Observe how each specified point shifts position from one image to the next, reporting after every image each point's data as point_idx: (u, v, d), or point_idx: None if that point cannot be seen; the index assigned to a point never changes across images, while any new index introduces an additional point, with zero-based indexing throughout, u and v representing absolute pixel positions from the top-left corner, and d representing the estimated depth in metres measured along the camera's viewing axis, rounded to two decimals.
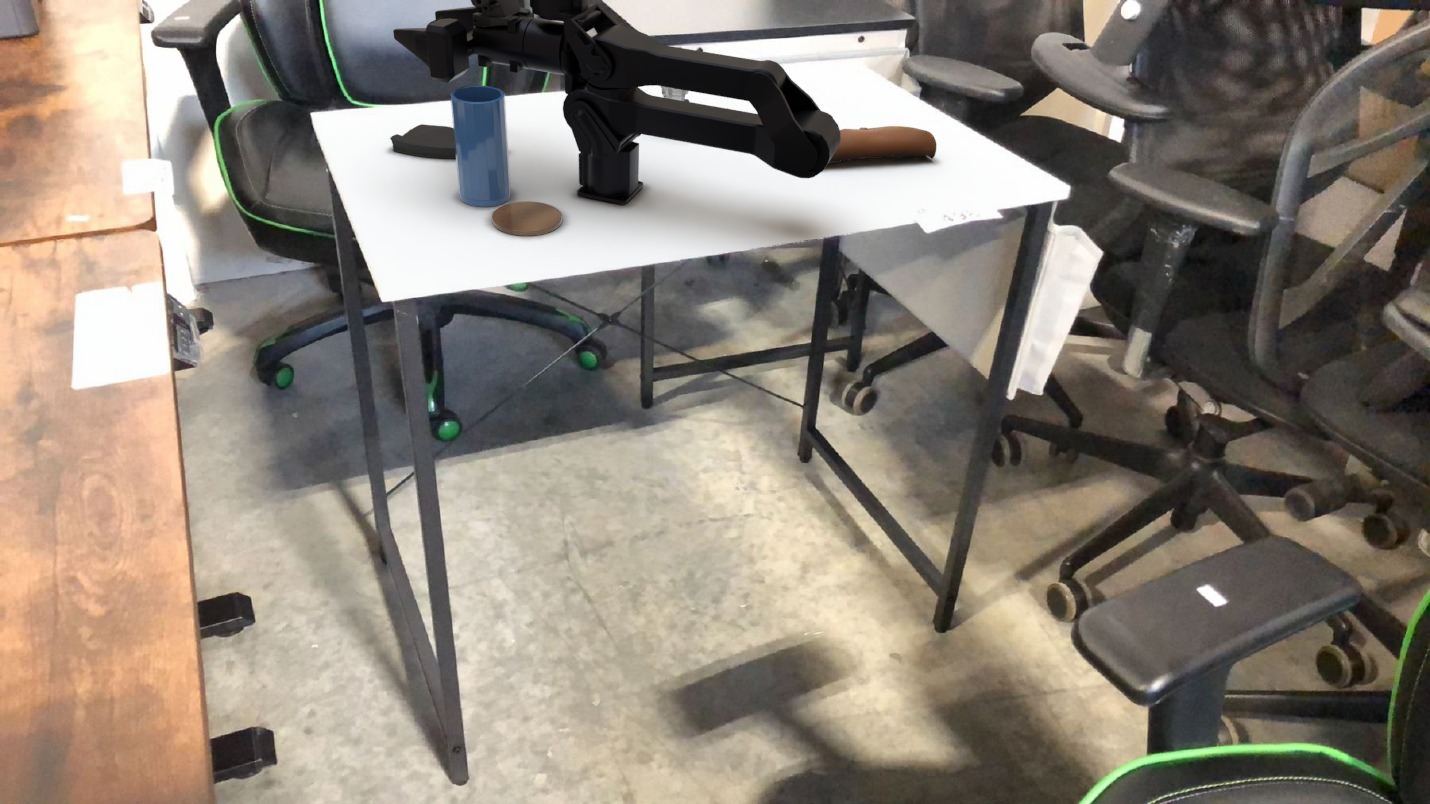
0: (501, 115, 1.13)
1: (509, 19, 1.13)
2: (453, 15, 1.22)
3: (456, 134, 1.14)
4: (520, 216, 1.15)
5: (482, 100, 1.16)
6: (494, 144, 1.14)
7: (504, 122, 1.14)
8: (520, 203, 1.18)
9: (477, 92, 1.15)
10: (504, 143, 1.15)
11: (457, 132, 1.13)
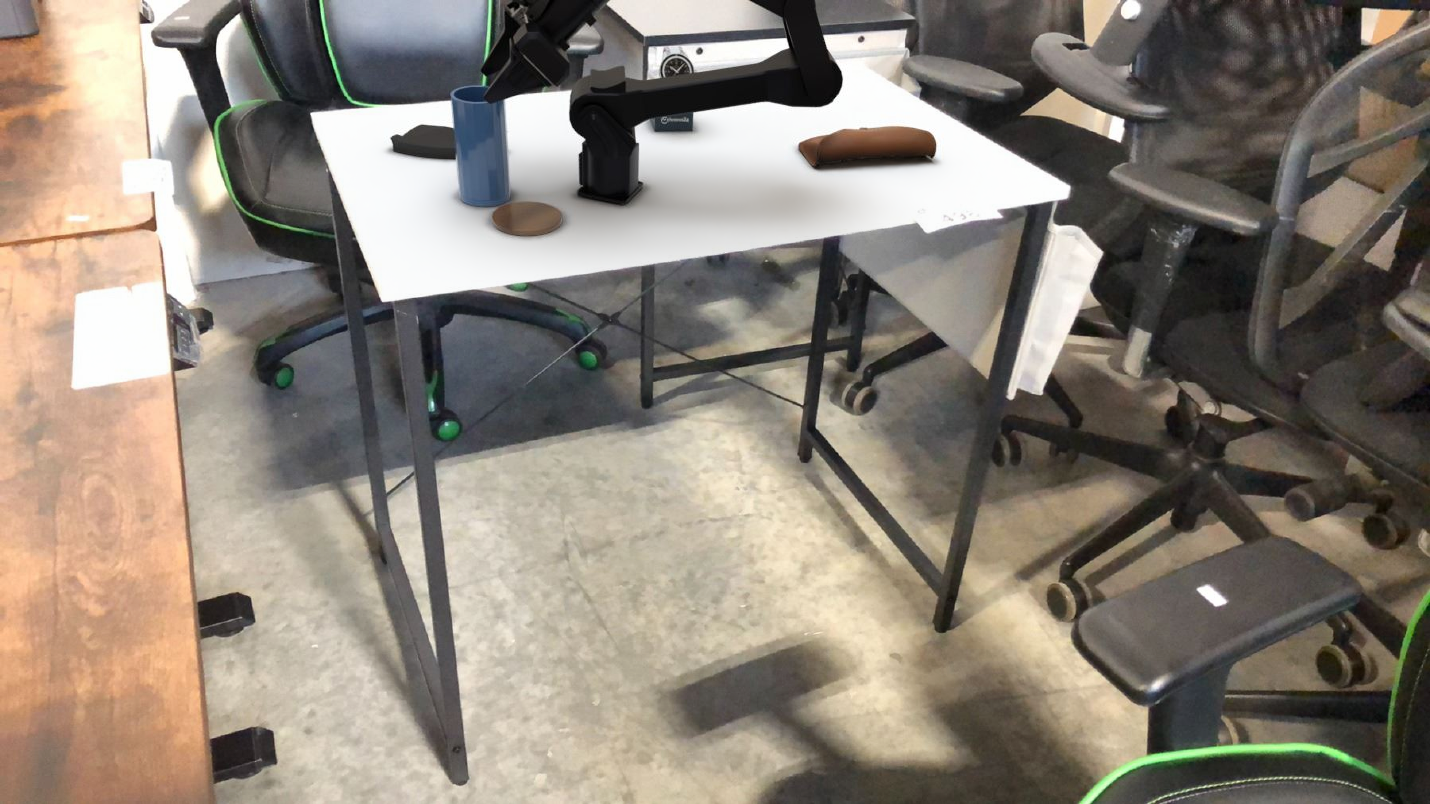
0: (501, 115, 1.13)
1: None
2: (495, 56, 1.16)
3: (456, 134, 1.14)
4: (520, 216, 1.15)
5: (482, 100, 1.16)
6: (494, 144, 1.14)
7: (504, 122, 1.14)
8: (520, 203, 1.18)
9: (477, 92, 1.15)
10: (504, 143, 1.15)
11: (457, 132, 1.13)
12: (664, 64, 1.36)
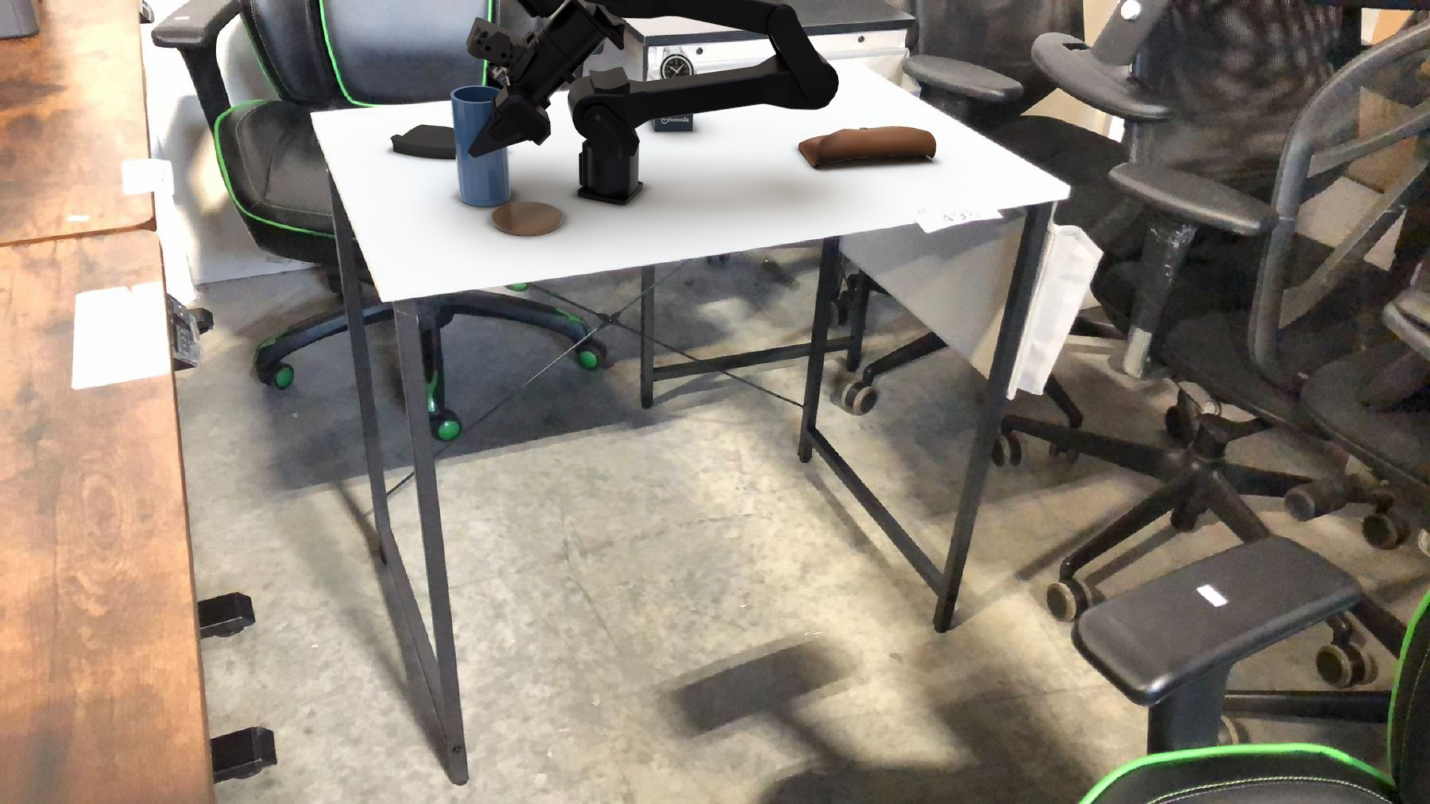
0: None
1: (532, 45, 1.09)
2: None
3: (456, 134, 1.14)
4: (520, 216, 1.15)
5: (482, 100, 1.16)
6: None
7: None
8: (520, 203, 1.18)
9: (477, 92, 1.15)
10: None
11: (457, 132, 1.13)
12: (664, 64, 1.36)
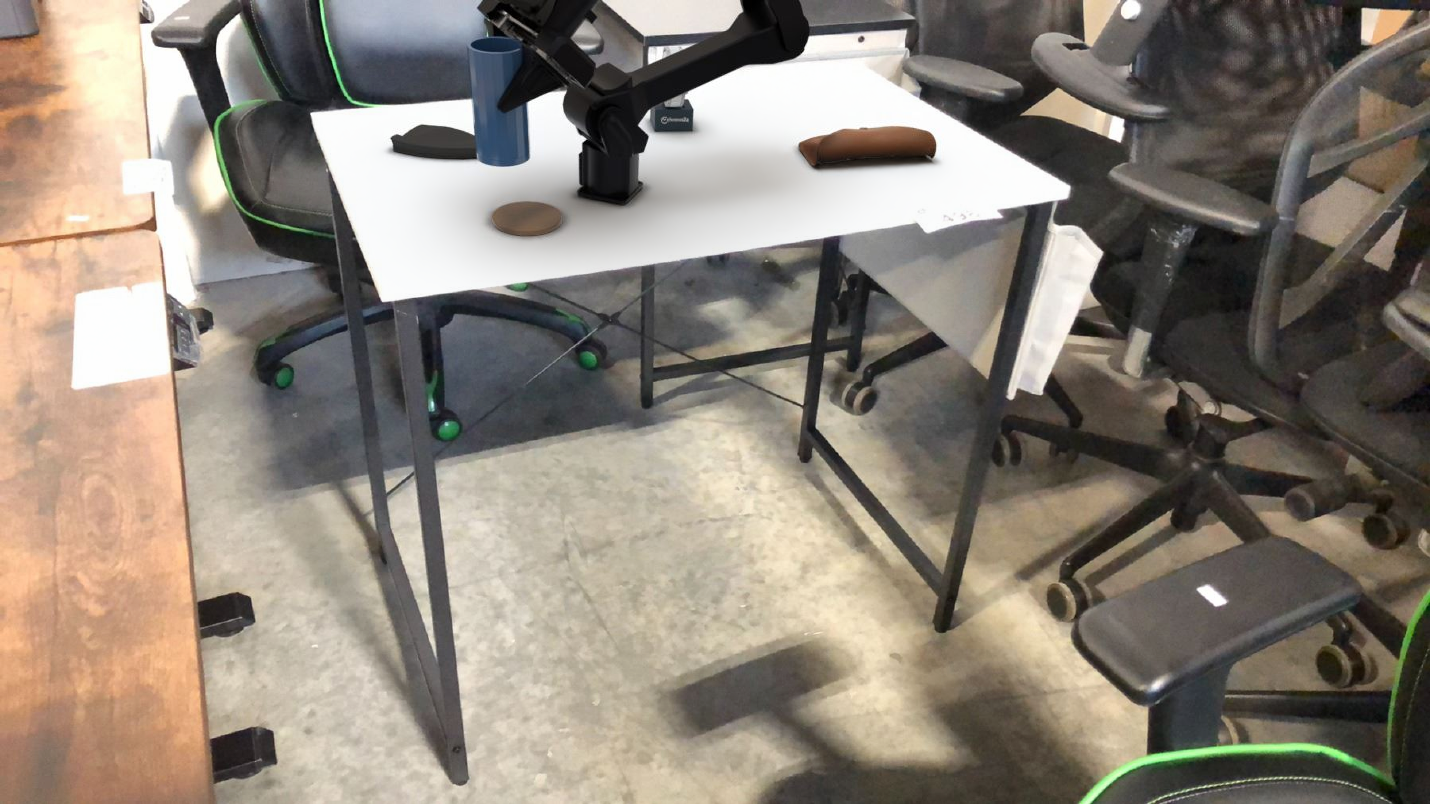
0: None
1: None
2: None
3: (479, 90, 1.06)
4: (520, 216, 1.15)
5: None
6: None
7: None
8: (520, 203, 1.18)
9: (487, 44, 1.08)
10: None
11: (481, 88, 1.06)
12: None
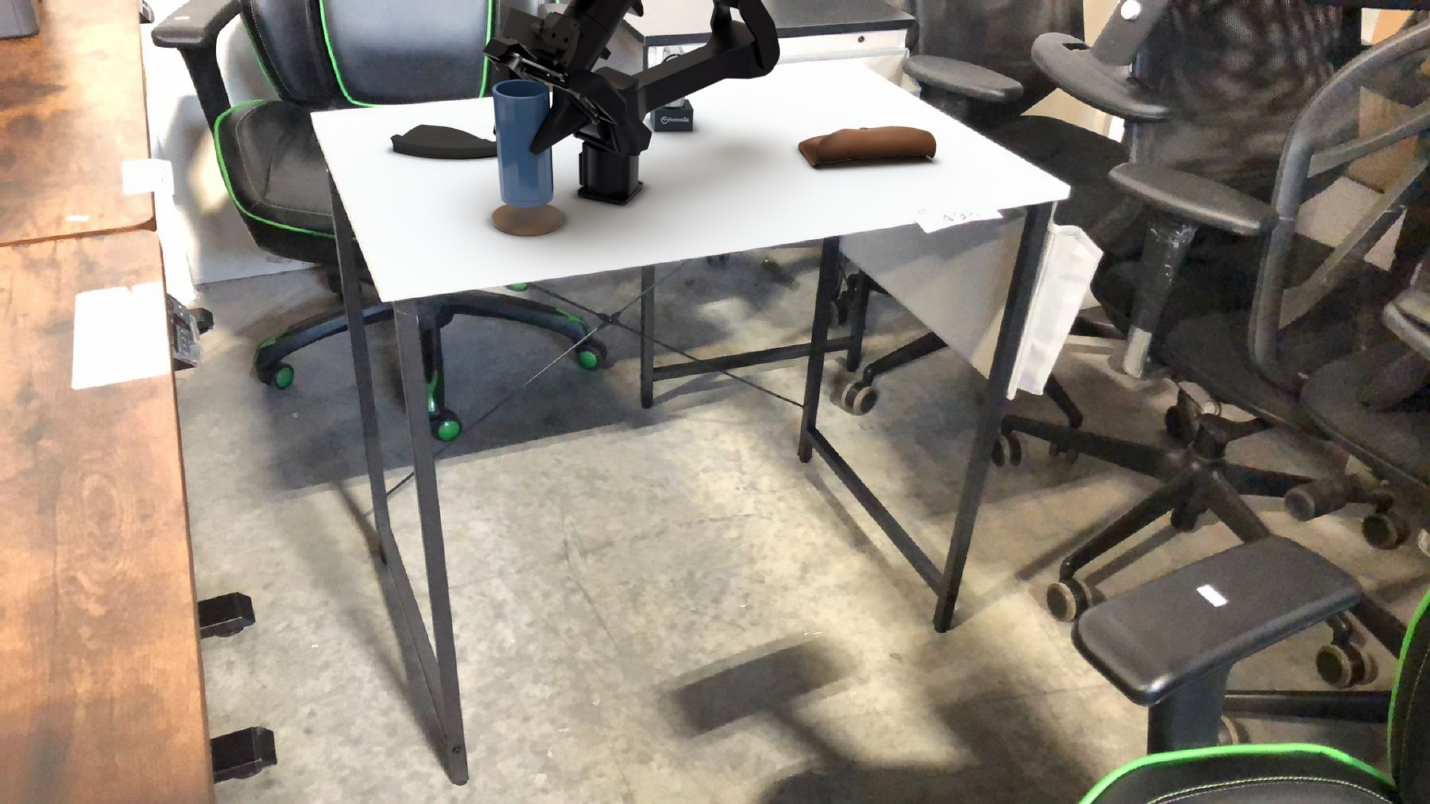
0: None
1: (578, 25, 1.05)
2: None
3: (509, 135, 1.07)
4: (520, 216, 1.15)
5: (511, 96, 1.09)
6: None
7: None
8: None
9: (506, 88, 1.08)
10: None
11: (512, 133, 1.06)
12: None
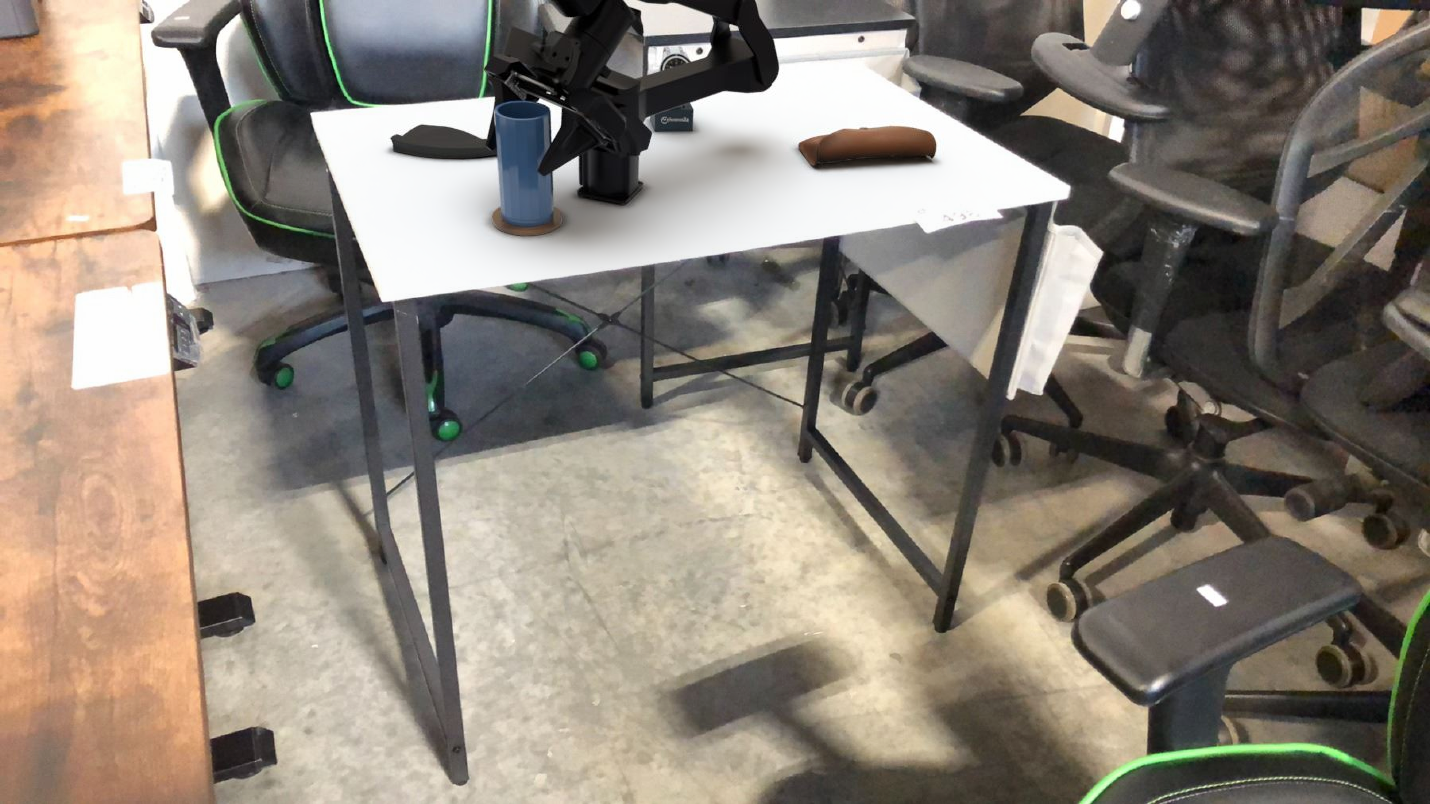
0: None
1: (578, 44, 1.07)
2: None
3: (511, 156, 1.08)
4: None
5: (512, 117, 1.10)
6: None
7: None
8: None
9: (508, 109, 1.10)
10: None
11: (513, 154, 1.08)
12: (664, 64, 1.36)
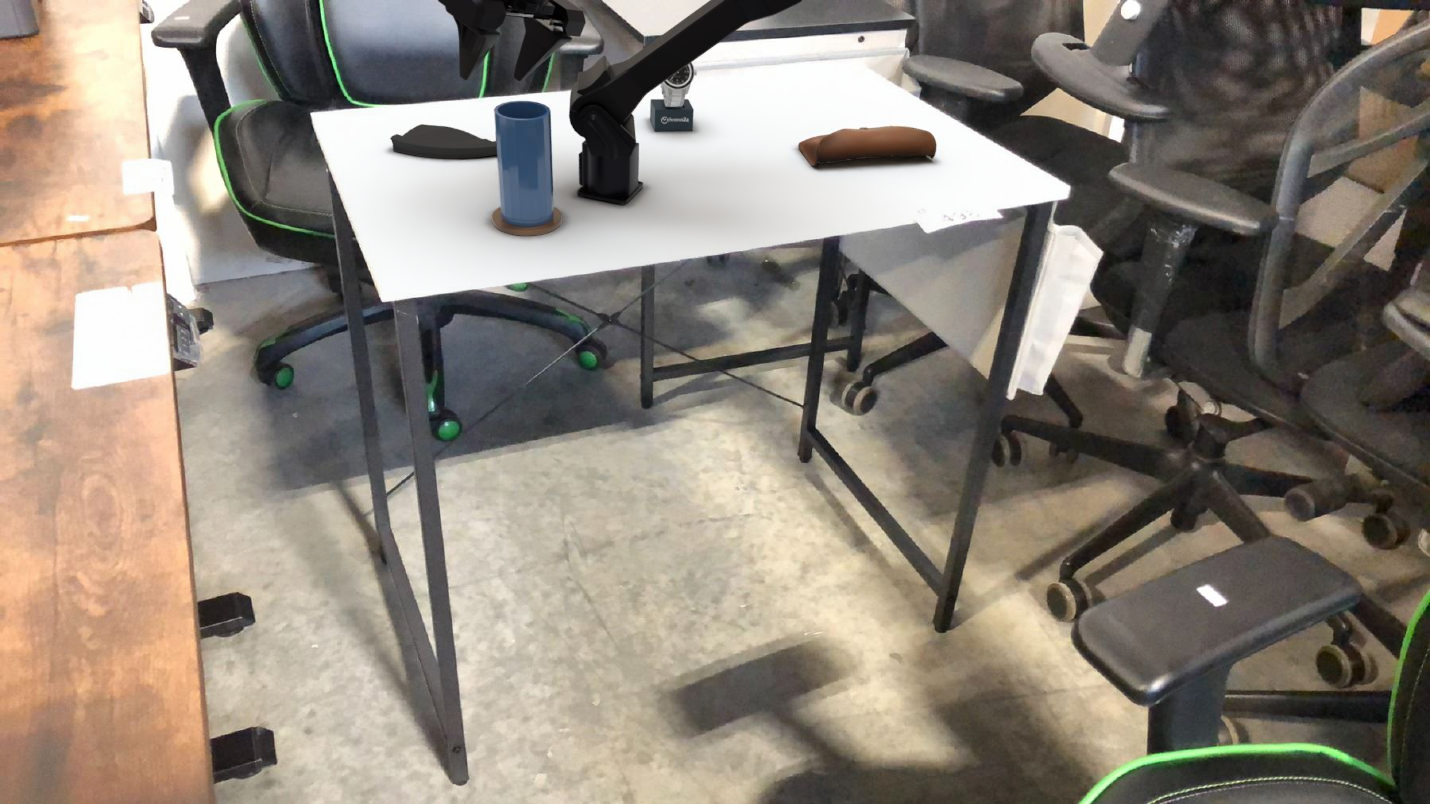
0: None
1: None
2: (522, 58, 1.17)
3: (511, 156, 1.08)
4: None
5: (512, 117, 1.10)
6: (549, 158, 1.10)
7: None
8: None
9: (508, 109, 1.10)
10: None
11: (513, 154, 1.08)
12: None
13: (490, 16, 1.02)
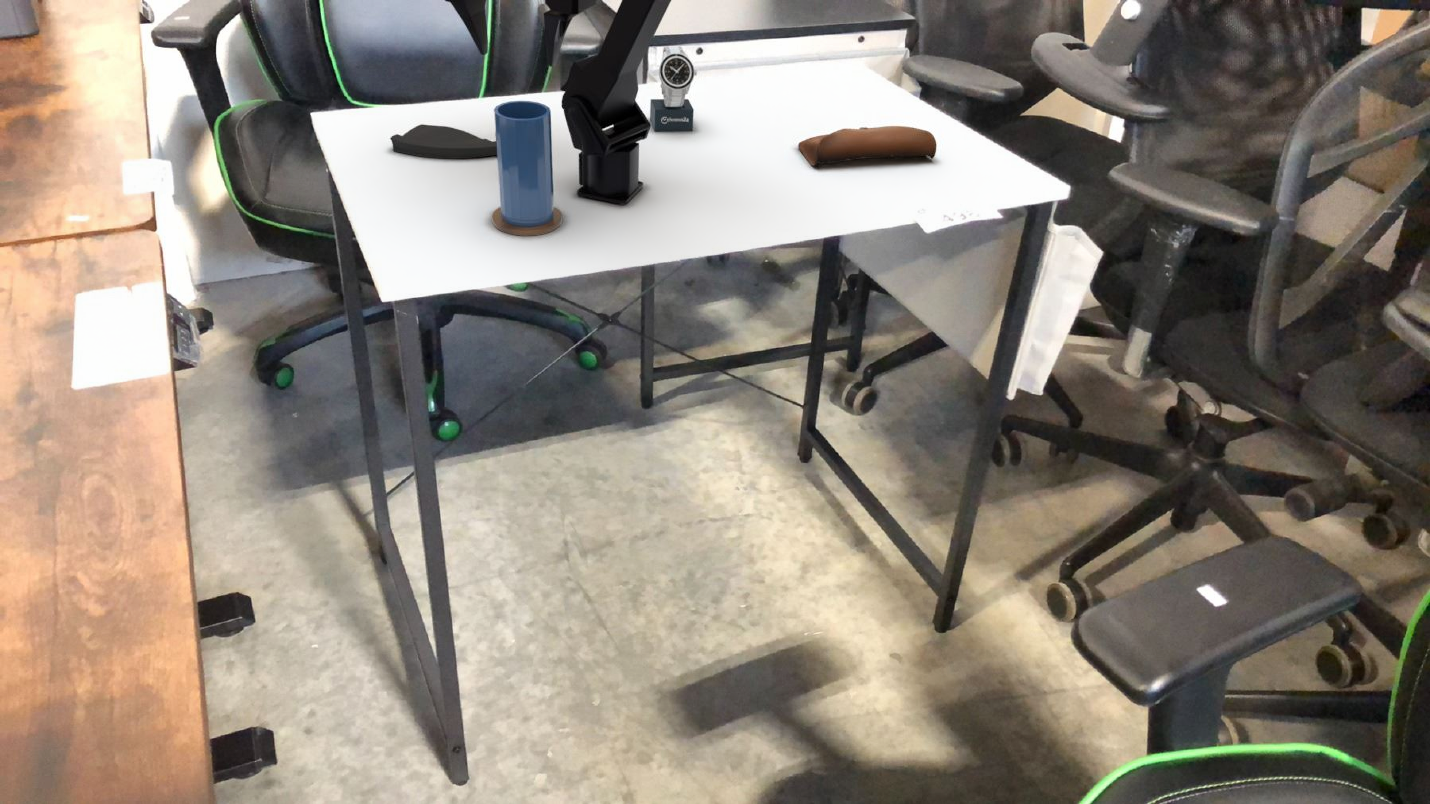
0: None
1: None
2: None
3: (511, 156, 1.08)
4: None
5: (512, 117, 1.10)
6: (549, 158, 1.10)
7: None
8: None
9: (508, 109, 1.10)
10: None
11: (513, 154, 1.08)
12: (664, 64, 1.36)
13: None
